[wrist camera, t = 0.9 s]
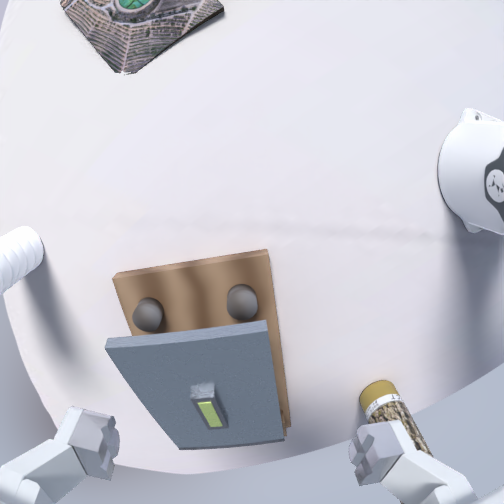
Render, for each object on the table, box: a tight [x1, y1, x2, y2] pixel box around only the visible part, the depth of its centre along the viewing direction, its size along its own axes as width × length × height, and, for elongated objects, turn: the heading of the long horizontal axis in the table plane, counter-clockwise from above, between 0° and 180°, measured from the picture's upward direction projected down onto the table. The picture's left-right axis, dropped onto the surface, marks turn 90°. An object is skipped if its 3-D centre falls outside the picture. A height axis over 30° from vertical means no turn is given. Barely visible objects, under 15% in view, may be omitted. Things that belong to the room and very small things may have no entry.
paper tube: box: [360, 380, 433, 504], centre depth 37 cm, size 7×7×25 cm
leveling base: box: [112, 249, 291, 436], centre depth 42 cm, size 20×32×5 cm, turn 9°
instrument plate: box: [105, 320, 285, 450], centre depth 36 cm, size 17×27×3 cm, turn 9°
